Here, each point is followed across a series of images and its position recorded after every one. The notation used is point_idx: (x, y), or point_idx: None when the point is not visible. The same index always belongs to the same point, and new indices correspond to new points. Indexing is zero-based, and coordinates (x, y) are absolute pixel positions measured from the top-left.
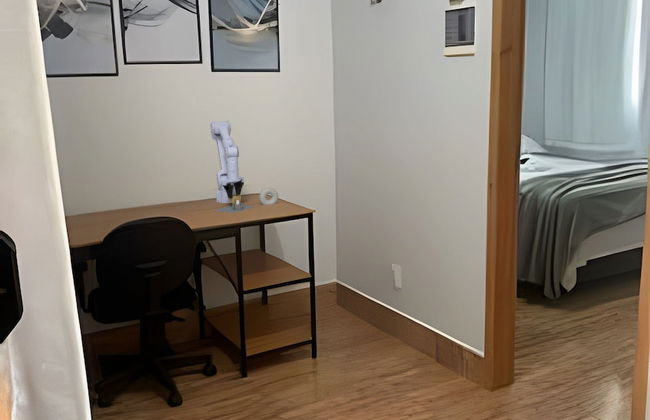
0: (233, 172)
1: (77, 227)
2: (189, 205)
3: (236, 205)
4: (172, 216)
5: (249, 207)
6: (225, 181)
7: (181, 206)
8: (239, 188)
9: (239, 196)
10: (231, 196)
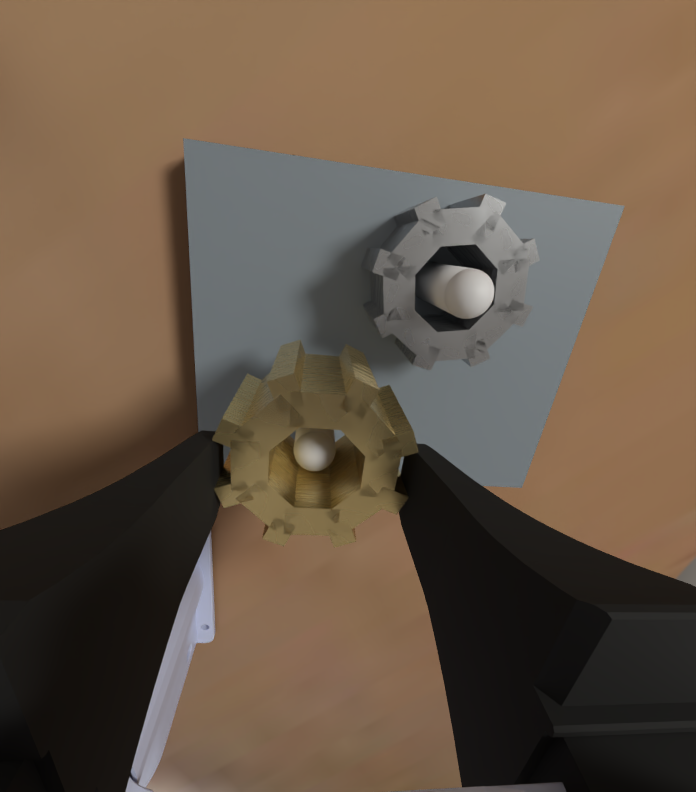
0: None
1: None
2: (303, 735)
3: (533, 258)
4: None
5: (269, 196)
6: None
7: (347, 747)
8: (155, 529)
9: (300, 382)
10: (443, 457)
